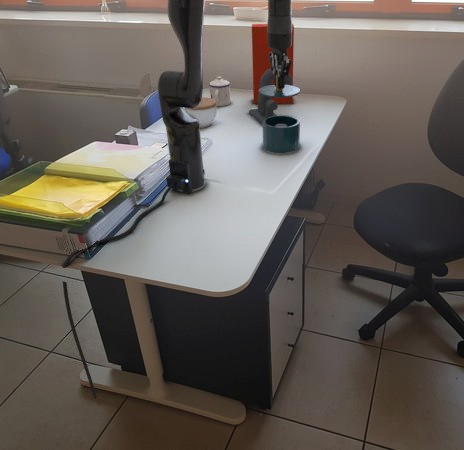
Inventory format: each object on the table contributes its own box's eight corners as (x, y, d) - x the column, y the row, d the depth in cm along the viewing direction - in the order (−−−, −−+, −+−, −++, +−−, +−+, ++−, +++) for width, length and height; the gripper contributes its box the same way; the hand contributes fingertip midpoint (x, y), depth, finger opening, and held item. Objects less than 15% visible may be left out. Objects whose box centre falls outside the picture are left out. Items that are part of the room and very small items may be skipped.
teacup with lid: (213, 100, 212) (211, 74, 206) (232, 100, 211) (231, 74, 205) (206, 108, 202) (204, 81, 196) (227, 108, 201) (225, 81, 195)
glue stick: (284, 149, 161) (284, 128, 157) (273, 147, 162) (273, 126, 158) (288, 144, 164) (288, 124, 160) (277, 143, 165) (277, 122, 161)
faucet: (300, 121, 186) (302, 70, 176) (264, 126, 181) (263, 74, 171) (282, 108, 201) (283, 60, 190) (248, 113, 196) (247, 64, 185)
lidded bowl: (179, 124, 185) (176, 96, 179) (206, 117, 192) (204, 90, 186) (197, 132, 177) (194, 103, 171) (224, 125, 183) (222, 97, 178)
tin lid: (291, 101, 146) (291, 82, 142) (251, 97, 150) (251, 78, 147) (305, 90, 156) (306, 72, 153) (268, 86, 161) (268, 68, 158)
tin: (291, 156, 156) (292, 129, 151) (257, 151, 160) (256, 124, 155) (304, 143, 166) (305, 117, 161) (271, 138, 170) (271, 113, 165)
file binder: (254, 98, 213) (252, 23, 196) (291, 98, 213) (292, 23, 196) (253, 104, 206) (251, 26, 189) (292, 103, 206) (293, 26, 189)
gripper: (260, 28, 147) (261, 83, 156) (276, 35, 136) (276, 94, 145) (281, 26, 150) (281, 80, 159) (300, 33, 139) (298, 91, 148)
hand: (279, 87), depth 152 cm, fingers closed on tin lid, 2 cm apart
